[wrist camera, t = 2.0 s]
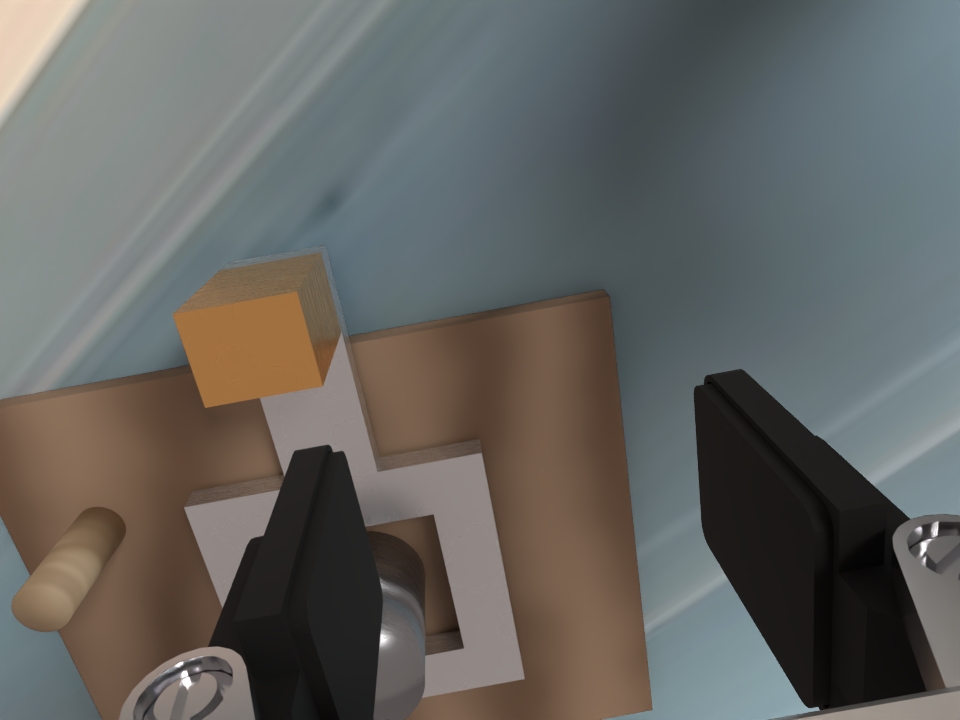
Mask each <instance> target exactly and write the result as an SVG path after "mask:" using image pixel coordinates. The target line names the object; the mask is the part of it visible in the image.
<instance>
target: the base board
mask: <svg viewBox="0 0 960 720" xmlns="http://www.w3.org/2000/svg"><path fill="white" fill-rule="evenodd" d="M349 339H350V343H351V347H352V351H353V355H354V359H355V363H356V367H357V371H358V375H359V379H360V383H361V387H362V391H363V394H364V398H365V402H366V406H367V410H368V414H369V418H370V422H371V426H372V430H373V434H374V438H375V442H376V446H377V450H378V454H379V457H383V456H389V455H394V454H400V453H405V452H410V451H416V450H421V449H427V448H432V447H438V446H443V445H449V444H454V443H460V442H465V441H471V440H476V439H480V444H481V449H482V454H483V459H484V465H485V470H486V475H487V480H488V486H489V491H490V496H491V501H492V507H493V512H494V517H495V522H496V528H497V533H498V538H499V543H500V549H501V554H502V559H503V564H504V570H505V575H506V580H507V585H508V591H509V596H510V601H511V606H512V611H513V617H514V622H515V627H516V632H517V638H518V643H519V648H520V653H521V659H522V665H523V671H524V677H525V679H522V680H517V681H511V682H506V683H500V684H495V685H489V686H484V687H478V688H473V689H468V690H462V691H457V692H451V693H446V694H440V695H435V696H430V697H424V698H422V699H421V701H420V703H419V704H418V706H417V707H416V708H415V710H414V711H413V712H412V713H411V714H410V715H409V716H408V717H407V718H405V719H404V720H601V719H606V718H612V717H617V716H623V715H628V714H633V713H639V712H644V711H650V710H653V709H652V699H651V690H650V680H649V670H648V661H647V651H646V642H645V632H644V622H643V613H642V603H641V594H640V584H639V575H638V565H637V555H636V546H635V536H634V527H633V517H632V507H631V498H630V488H629V479H628V469H627V459H626V450H625V440H624V431H623V421H622V412H621V402H620V392H619V383H618V373H617V364H616V354H615V344H614V335H613V325H612V316H611V306H610V297H609V295H608V294H607V293H606V292H605V291H604V290H599V291H593V292H588V293H582V294H577V295H571V296H566V297H560V298H555V299H549V300H544V301H538V302H533V303H527V304H522V305H516V306H511V307H506V308H500V309H495V310H489V311H484V312H478V313H473V314H467V315H462V316H456V317H451V318H445V319H440V320H434V321H429V322H423V323H418V324H412V325H407V326H402V327H396V328H391V329H385V330H380V331H374V332H369V333H363V334H358V335H352V336H349ZM279 475H284V473H283V470H282V467H281V464H280V461H279V458H278V454H277V451H276V448H275V445H274V442H273V438H272V435H271V432H270V429H269V426H268V423H267V419H266V416H265V413H264V410H263V407H262V403H261V400H260V398H257V399H251V400H246V401H240V402H235V403H229V404H224V405H218V406H213V407H207V408H205V406H204V403H203V400H202V398H201V395H200V392H199V389H198V386H197V383H196V380H195V377H194V375H193V372H192V369H191V366H190V365H188V366H183V367H177V368H172V369H166V370H161V371H155V372H150V373H144V374H139V375H133V376H128V377H122V378H117V379H111V380H106V381H100V382H95V383H89V384H84V385H78V386H73V387H68V388H62V389H57V390H51V391H46V392H40V393H35V394H29V395H24V396H18V397H13V398H7V399H2V400H0V516H1V518H2V520H3V522H4V524H5V526H6V528H7V530H8V532H9V534H10V536H11V538H12V540H13V542H14V544H15V546H16V548H17V550H18V552H19V554H20V556H21V558H22V560H23V562H24V564H25V566H26V568H27V570H28V572H29V574H30V576H31V575H32V574H33V572H34V571H35V570H36V569H37V567H38V566H39V565H40V564H41V562H42V561H43V560H44V559H45V557H46V556H47V555H48V554H49V552H50V551H51V550H52V548H53V547H54V546H55V545H56V543H57V542H58V541H59V540H60V538H61V537H62V536H63V535H64V533H65V532H66V531H67V530H68V528H69V527H70V526H71V525H72V523H73V522H74V521H75V520H76V518H77V517H78V516H79V515H80V514H81V513H82V512H83V511H84V510H86V509H88V508H92V507H103V508H107V509H110V510H112V511H114V512H116V513H117V514H118V515H119V516H120V517H121V518H122V519H123V521H124V523H125V526H126V534H125V537H124V538H123V540H122V541H121V543H120V544H119V546H118V548H117V549H116V551H115V552H114V554H113V555H112V557H111V558H110V560H109V561H108V563H107V564H106V566H105V567H104V569H103V570H102V572H101V573H100V575H99V576H98V578H97V579H96V581H95V582H94V584H93V585H92V587H91V588H90V590H89V591H88V593H87V594H86V596H85V598H84V599H83V601H82V602H81V604H80V605H79V607H78V608H77V610H76V611H75V613H74V614H73V616H72V617H71V619H70V620H69V622H68V623H67V624H66V625H65V626H64V627H62V628H61V629H58V632H59V634H60V636H61V638H62V640H63V642H64V644H65V646H66V648H67V650H68V652H69V654H70V656H71V658H72V660H73V662H74V664H75V666H76V668H77V670H78V672H79V674H80V676H81V678H82V680H83V682H84V684H85V686H86V688H87V690H88V692H89V694H90V696H91V698H92V700H93V702H94V704H95V706H96V708H97V710H98V712H99V714H100V716H101V718H102V720H119V717H120V714H121V710H122V706H123V704H124V703H125V701H126V700H127V698H128V696H129V695H130V693H131V692H132V690H133V689H134V688H135V687H136V686H137V685H138V684H139V683H140V682H141V681H142V680H143V679H144V678H145V677H146V676H147V675H148V674H149V673H151V672H152V671H153V670H155V669H156V668H157V667H159V666H160V665H162V664H163V663H165V662H167V661H169V660H170V659H172V658H174V657H176V656H178V655H180V654H182V653H186V652H189V651H192V650H195V649H199V648H206V647H208V645H209V642H210V640H211V637H212V635H213V632H214V629H215V627H216V624H217V622H218V619H219V617H220V614H221V611H222V609H223V608H222V606H221V603H220V601H219V598H218V595H217V593H216V590H215V587H214V585H213V582H212V580H211V577H210V574H209V572H208V569H207V567H206V564H205V561H204V559H203V556H202V553H201V551H200V548H199V546H198V543H197V540H196V538H195V535H194V533H193V530H192V527H191V525H190V522H189V520H188V517H187V514H186V512H185V509H184V506H185V505H186V503H187V501H188V499H189V498H190V496H191V494H192V492H193V491H197V490H203V489H208V488H214V487H219V486H225V485H230V484H236V483H241V482H247V481H252V480H258V479H263V478H268V477H274V476H279ZM366 531H376V532H383V533H387V534H390V535H393V536H395V537H398V538H400V539H401V540H403V541H405V542H406V543H408V544H409V545H410V546H411V547H412V548H413V549H414V550H415V551H416V552H417V554H418V555H419V556H420V558H421V560H422V562H423V565H424V568H425V636H429V635H435V634H440V633H446V632H451V631H457V630H460V627H459V623H458V619H457V614H456V610H455V606H454V601H453V597H452V592H451V588H450V584H449V579H448V575H447V571H446V566H445V562H444V557H443V553H442V549H441V544H440V540H439V535H438V531H437V527H436V522H435V518H434V514H432V515H427V516H422V517H416V518H411V519H405V520H400V521H394V522H389V523H383V524H378V525H372V526H367V527H366Z"/></svg>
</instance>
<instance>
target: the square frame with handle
mask: <svg viewBox="0 0 960 720" xmlns="http://www.w3.org/2000/svg"><path fill="white" fill-rule="evenodd" d="M173 317H174V320H175V323H176V326H177V329H178V331H179V334H180V337H181V340H182V343H183V346H184V349H185V352H186V354H187V357H188V360H189V363H190V366H191V369H192V372H193V375H194V377H195V380H196V383H197V386H198V389H199V392H200V395H201V398H202V400H203V403H204V406H205V408H207V407H213V406H218V405H224V404H229V403H235V402H240V401H246V400H251V399H257V398H260V400H261V403H262V407H263V410H264V413H265V416H266V419H267V423H268V426H269V429H270V432H271V435H272V438H273V442H274V445H275V448H276V451H277V454H278V458H279V461H280V464H281V467H282V470H283V473H284V475H279V476H274V477H268V478H263V479H258V480H252V481H247V482H241V483H236V484H230V485H225V486H219V487H214V488H208V489H203V490H197V491H193V492H192V494H191V496H190V498H189V499H188V501H187V503H186V505H185V506H184V509H185V512H186V514H187V517H188V520H189V522H190V525H191V527H192V530H193V533H194V535H195V538H196V540H197V543H198V546H199V548H200V551H201V553H202V556H203V559H204V561H205V564H206V567H207V569H208V572H209V574H210V577H211V580H212V582H213V585H214V587H215V590H216V593H217V595H218V598H219V601H220V603H221V606H222V608H223V606H224V604H225V601H226V598H227V596H228V593H229V591H230V588H231V585H232V583H233V580H234V578H235V575H236V572H237V570H238V567H239V565H240V562H241V559H242V557H243V554H244V552H245V549H246V547H247V544H248V543H249V541H250V539H252V538H254V537H259V536H264V533H265V530H266V527H267V525H268V522H269V519H270V516H271V513H272V511H273V508H274V505H275V502H276V499H277V497H278V494H279V491H280V488H281V485H282V483H283V480H284V477H285V474H286V472H287V469H288V466H289V463H290V460H291V458H292V455H293V453H294V451H295V450H300V449H306V448H311V447H317V446H322V445H328V444H329V445H330V446H331V448H332V450H333V452H338V451H343V452H344V453H345V455H346V458H347V461H348V465H349V468H350V472H351V476H352V479H353V483H354V487H355V491H356V494H357V498H358V502H359V505H360V509H361V513H362V516H363V520H364V524H365V527H367V526H372V525H378V524H383V523H389V522H394V521H400V520H405V519H411V518H416V517H422V516H427V515H432V514H434V518H435V522H436V527H437V531H438V535H439V540H440V544H441V549H442V553H443V557H444V562H445V566H446V571H447V575H448V579H449V584H450V588H451V592H452V597H453V601H454V606H455V610H456V614H457V619H458V623H459V627H460V630H457V631H451V632H446V633H440V634H435V635H429V636H425V689H424V693H423V696H422V698H424V697H430V696H435V695H440V694H446V693H451V692H457V691H462V690H468V689H473V688H478V687H484V686H489V685H495V684H500V683H506V682H511V681H517V680H522V679H525V677H524V671H523V665H522V659H521V653H520V648H519V643H518V638H517V632H516V627H515V622H514V617H513V611H512V606H511V601H510V596H509V591H508V585H507V580H506V575H505V570H504V564H503V559H502V554H501V549H500V543H499V538H498V533H497V528H496V522H495V517H494V512H493V507H492V501H491V496H490V491H489V486H488V480H487V475H486V470H485V465H484V459H483V454H482V449H481V444H480V439H476V440H471V441H465V442H460V443H454V444H449V445H443V446H438V447H432V448H427V449H421V450H416V451H410V452H405V453H400V454H394V455H389V456H383V457H379V454H378V450H377V446H376V442H375V438H374V434H373V430H372V426H371V422H370V418H369V414H368V410H367V406H366V402H365V398H364V394H363V391H362V387H361V383H360V379H359V375H358V371H357V367H356V363H355V359H354V355H353V351H352V347H351V343H350V339H349V335H348V331H347V327H346V323H345V319H344V315H343V312H342V308H341V304H340V300H339V296H338V292H337V288H336V284H335V280H334V276H333V272H332V268H331V264H330V260H329V256H328V252H327V248H326V245H321V246H316V247H310V248H305V249H299V250H294V251H288V252H283V253H278V254H272V255H267V256H261V257H256V258H250V259H245V260H239V261H234V262H229V263H227V264H226V265H225V266H224V267H223V268H222V269H221V270H220V271H219V272H218V273H217V274H216V275H214V276H213V277H212V278H211V279H210V280H209V281H208V282H207V283H206V284H205V285H204V286H203V287H202V288H200V289H199V290H198V291H197V292H196V293H195V294H194V295H193V296H192V297H191V298H190V299H189V300H188V301H186V302H185V303H184V304H183V305H182V306H181V307H180V308H179V309H178V310H177V311H176V312H175V313H173Z"/></svg>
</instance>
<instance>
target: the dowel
mask: <svg viewBox="0 0 960 720" xmlns="http://www.w3.org/2000/svg"><path fill="white" fill-rule="evenodd" d="M125 534H126V526H125V523H124V521H123V519H122V518H121V517H120V516H119V515H118V514H117V513H116V512H114V511H112V510H110V509H107V508H103V507H92V508H88V509H86V510H84V511H83V512H82V513H81V514H80V515H79V516H78V517H77V518H76V520H75V521H74V522H73V523H72V525H71V526H70V527H69V528H68V530H67V531H66V532H65V533H64V535H63V536H62V537H61V538H60V540H59V541H58V542H57V543H56V545H55V546H54V547H53V548H52V550H51V551H50V552H49V554H48V555H47V556H46V557H45V559H44V560H43V561H42V562H41V564H40V565H39V566H38V567H37V569H36V570H35V571H34V572H33V574H32V575H31V576H30V577H29V579H28V580H27V581H26V582H25V584H24V585H23V586H22V587H21V589H20V590H19V591H18V592H17V594H16V595H15V596H14V598H13V600H12V612H13V614H14V616H15V617H16V619H17V620H18V621H19V622H20V623H22V624H23V625H24V626H26V627H28V628H30V629H33V630H36V631H41V632H50V631H56V630H58V629H61V628H62V627H64V626H65V625H66V624H67V623H68V622H69V620H70V619H71V617H72V616H73V614H74V613H75V611H76V610H77V608H78V607H79V605H80V604H81V602H82V601H83V599H84V598H85V596H86V594H87V593H88V591H89V590H90V588H91V587H92V585H93V584H94V582H95V581H96V579H97V578H98V576H99V575H100V573H101V572H102V570H103V569H104V567H105V566H106V564H107V563H108V561H109V560H110V558H111V557H112V555H113V554H114V552H115V551H116V549H117V548H118V546H119V544H120V543H121V541H122V540H123V538H124V537H125Z"/></svg>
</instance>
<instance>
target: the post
mask: <svg viewBox="0 0 960 720" xmlns="http://www.w3.org/2000/svg"><path fill="white" fill-rule="evenodd" d="M367 535H368V538H369V542H370V546H371V549H372V553H373V557H374V560H375V564H376V568H377V571H378V575H379V579H380V583H381V588H382V595H383V610H382V622H381V634H380V646H379V658H378V670H377V682H376V694H375V706H374V718H373V720H404V719H405V718H407V717H408V716H409V715H410V714H411V713H412V712H413V711H414V710H415V708H416V707H417V706H418V704H419V703H420V701H421V699H422V696H423V693H424V689H425V568H424V565H423V562H422V560H421V558H420V556H419V555H418V554H417V552H416V551H415V550H414V549H413V548H412V547H411V546H410V545H409V544H408V543H406V542H405V541H403V540H401V539H400V538H398V537H395V536H393V535H390V534H387V533H383V532H376V531H367Z"/></svg>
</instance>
